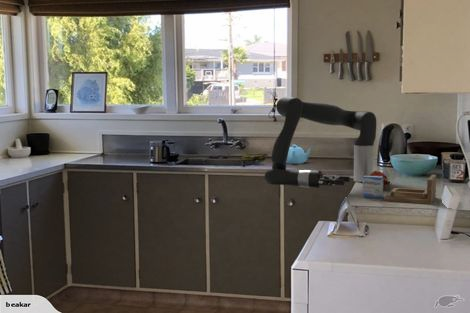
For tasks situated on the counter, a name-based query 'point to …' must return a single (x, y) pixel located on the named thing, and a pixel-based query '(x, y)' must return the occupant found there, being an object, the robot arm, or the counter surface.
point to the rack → (414, 193)
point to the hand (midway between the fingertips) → (347, 180)
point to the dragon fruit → (378, 173)
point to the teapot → (297, 155)
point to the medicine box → (373, 186)
